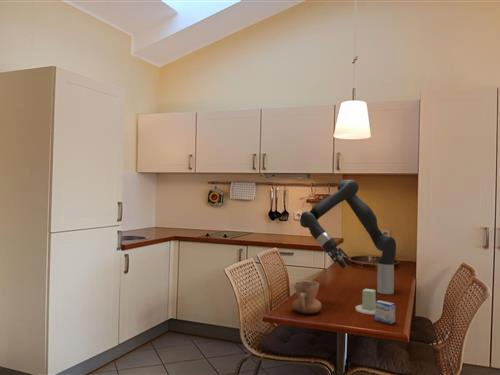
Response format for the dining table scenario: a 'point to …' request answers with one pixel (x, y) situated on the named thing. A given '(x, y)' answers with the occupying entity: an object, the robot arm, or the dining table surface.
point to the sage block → (368, 299)
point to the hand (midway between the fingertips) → (347, 266)
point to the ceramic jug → (306, 297)
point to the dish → (365, 310)
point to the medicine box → (385, 311)
